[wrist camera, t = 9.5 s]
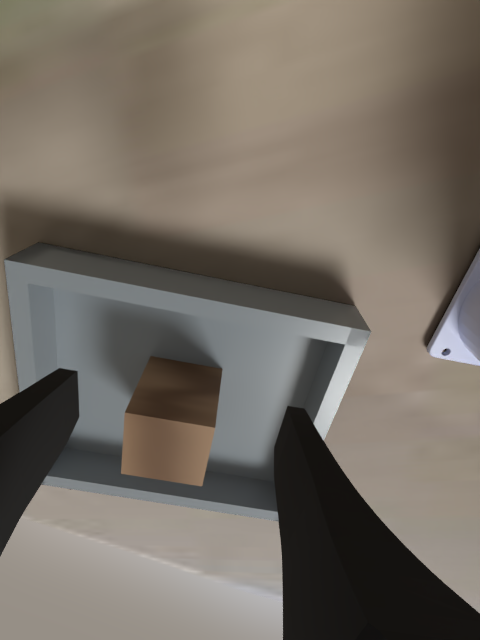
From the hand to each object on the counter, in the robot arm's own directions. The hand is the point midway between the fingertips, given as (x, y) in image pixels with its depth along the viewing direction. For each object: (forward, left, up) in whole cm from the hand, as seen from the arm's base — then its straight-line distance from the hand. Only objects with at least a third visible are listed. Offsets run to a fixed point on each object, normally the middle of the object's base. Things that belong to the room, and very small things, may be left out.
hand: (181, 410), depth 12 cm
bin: (+1, +7, -9) cm, 11 cm away
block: (+1, +7, -9) cm, 11 cm away
